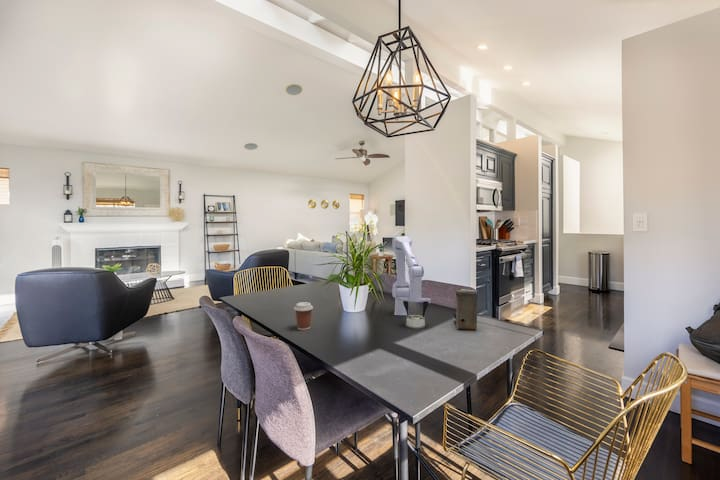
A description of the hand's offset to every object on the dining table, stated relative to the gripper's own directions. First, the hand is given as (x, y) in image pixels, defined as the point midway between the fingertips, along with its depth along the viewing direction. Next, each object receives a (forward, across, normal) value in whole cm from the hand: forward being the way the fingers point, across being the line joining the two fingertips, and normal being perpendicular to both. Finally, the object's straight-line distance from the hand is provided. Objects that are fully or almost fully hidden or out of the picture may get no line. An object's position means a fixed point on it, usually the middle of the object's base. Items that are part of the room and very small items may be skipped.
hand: (415, 316), depth 166 cm
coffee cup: (+5, -55, -10) cm, 56 cm away
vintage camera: (+5, +24, +3) cm, 25 cm away
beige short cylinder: (+4, 0, 0) cm, 4 cm away
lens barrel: (+5, 0, 0) cm, 5 cm away
